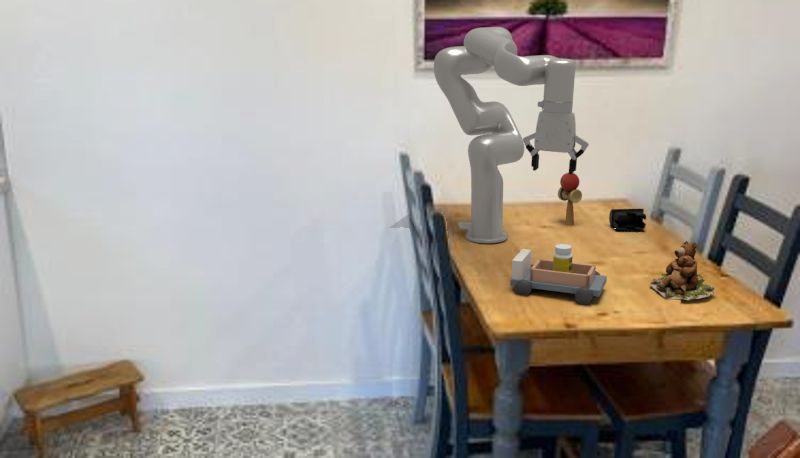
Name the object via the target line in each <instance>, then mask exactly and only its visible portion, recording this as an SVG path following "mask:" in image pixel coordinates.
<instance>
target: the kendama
mask: <svg viewBox="0 0 800 458" xmlns="http://www.w3.org/2000/svg"><path fill="white" fill-rule="evenodd" d="M559 183H560V187H559V188H558V192H557V197H558V199H559V200H561V201H564V202H565V201H567V205H566V210H565V211H566V212H565V221H564V222H565V225H566V226H569V227H571V226H574V225H575V223H574V222H575V218H574V217H575V216H574V215H575V214H574V204H578V203H580V201H582V198H583V193H582V191H581V190H580V189H578V188H579V185H580V178H579V176H578V175H577V174H576V173H575V172H574V173H573V174H572V175H570V174H569V172H566V173H564V174H563V175H562V176H561V177H560V181H559Z"/></svg>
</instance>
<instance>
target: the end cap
mask: <svg viewBox="0 0 800 458" xmlns="http://www.w3.org/2000/svg"><path fill="white" fill-rule="evenodd" d="M608 219H609V221H608V222H609V226H610V228H611V229H613V230H614V231H615V233H638V232H644V233H645V230H644V229H646V226H647V223H646V222H644V221H645V220H647V214H646V213H644V208H611V209H610V212H609V215H608ZM614 228H616V229H614Z"/></svg>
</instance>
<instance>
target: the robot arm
mask: <svg viewBox="0 0 800 458" xmlns="http://www.w3.org/2000/svg"><path fill="white" fill-rule="evenodd" d="M492 68H493V69H494V71H495V73H496V75H497V76H498V77H499V78H500V79H502V80H504V81H506V82H508V83H509V84H512V85H515V86H518V87H520V86H521V87H527V86H536V85H538V86H539V85H544V87H543V99H542V101H538V102H537V107H538V108H541V110H542V111H539V112H538V113H539V114H538V116H537V121H536V125H535V126H536V127H535V132H533V133H532V134H529V135H526V136H524V137H522V135H521V133H520V130H519V129H518V127H517V125H516V122H515V121H514V119H513V117H512V114H511V113H510V111H509V110H508V107H506V106H505V105H504V104H503V103H501V102H499V101H482V100H481V99H480V98H479V96H478V94H477V92H476V89H475V88H474V87H473V85H472V84H471V83H469V82H468V81H467V80H466V79H464V78H463V77H462V76H466V75H479V74H482V73H486V72H488V71H489V70H490V69H492ZM433 74H434V78H435V81H436V82H437V85H438V87H439V88H440V90H441V91H442V93H443V94H444V96H445V97H446V99H447V101H448V103H449V105H450V107H451V110H452V111H453V113H454V116H455V118H456V120H457V122H458V124H459V126H460V128H461V130H462V131H463V133H464V134H465V135H467V136H475V137H474V138H472V140H471V141H470V142H469V144H468V147H467V154H468V160H469V166H470V179H471V180H470V185H471V186H470V190H471V191H470V192H471V193H470V197H471V198H470V199H471V200H470V201H471V202H470V221H468V222H465V221H458V224H457V227H458V228H459V230H463V231H464V230H465V231H467V232H466V233H465V239H467V240H468V241H470V242H474V243H476V244H477V243H479V244H497V243H498V244H499V243H501V242H504V241H506V240H507V239H508V233H507V231H504V230H503V219H504V216H503V214H504V209H503V208H504V178H503V176H502V174H501V172H500V170H499V168H498V166H502V165H507V164H513V163H517V162H518V161H520V160H521V159H522V158H523V156H524V154H525V149H526V150H527V151H528V152H529V154H530V156H531V164H530V166H531V167H532V171H533V172H534V171H535V172H536V171H537V170H538V169H539V165H540V163H539V161H540V154H539V151H543V152H551V153H552V152H553V153H554V152H555V153H562V154H566V153H567V154H568V155H569V156H570V159H569V163H568V165H569V166H568V173H569V174H570V175H572V174H573V173H574V174H575V172H576V170H577V162H578V160H577V159H578V158H579V157H580V156H582V155H583V154H584V153H585V152H586V150H587V148H588V147H589V145H590V144H589V142H587V141H586V140H584V139H583V138H581V137H579V136H578V135H577V134H576V133H577V129H576V128H577V127H576V115H575V113H574V112H573V104H574V103H573V102H574V92H575V91H574V90H575V80H576V79H575V77H576V63H575V61H574V60H573V59H570V58H563V57H562V58H561V57H560V58H559V57H556V56H554V55H550V54H549V55H548V54H541V55H539V54H538V55H526V56H525V55H524V56H519V55H518V47H517V44H516V43H515V41H514V40H513V36H512V33H511V32H510V31H509V29H507V28H504V27H502V26H492V27H489V26H487V27H486V26H485V27H477V28H473V29H471V30H470V31H468V32H467V33H466V35H465V37H464V40H463V45H461V46H450V47H446V48H443V49H441V50H439V51H438V53H437V54H436V55H435V57H434V60H433ZM531 140H534V142H533V143H534V146H533V144H531ZM576 144H578V145H579V146H581V147H580V149H579V150H578V151H577V149H575V147H576Z"/></svg>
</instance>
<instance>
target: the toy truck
mask: <svg viewBox="0 0 800 458" xmlns="http://www.w3.org/2000/svg"><path fill="white" fill-rule="evenodd" d="M532 252H533V251H532V249H527V248H522V249H521V250H520V251H519V252H518V253H517V254H516V255H515V257H514V258H513V259H512V261H511V262H512V263H511V279H510V280H509V281H510V282H509V283H510V284H509V285H510V286H513V287H514V289H513V290H514V292H515V294H516V295H518V296H524V297H527V296H529V295H530V293H531V292H532V289H537V290H543V291H552V292H560V293H566V294H567V293H568V294H573V295H574V299H575V300H576V303H578V304H579V305H582V306H587V305H589V304H590V303H591V301H592V300H593V297H598V298H599V297H601V293H602V292H603V290H604V288H605V285H606V284H607V278H608V276H607V275H601V274H600V272H598V271H597V270H596V269H597V265H596V264H587V263H579V262H572V273H568V272H559V271H553V259H544V258H537V260H536V262H535V263H532Z"/></svg>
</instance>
